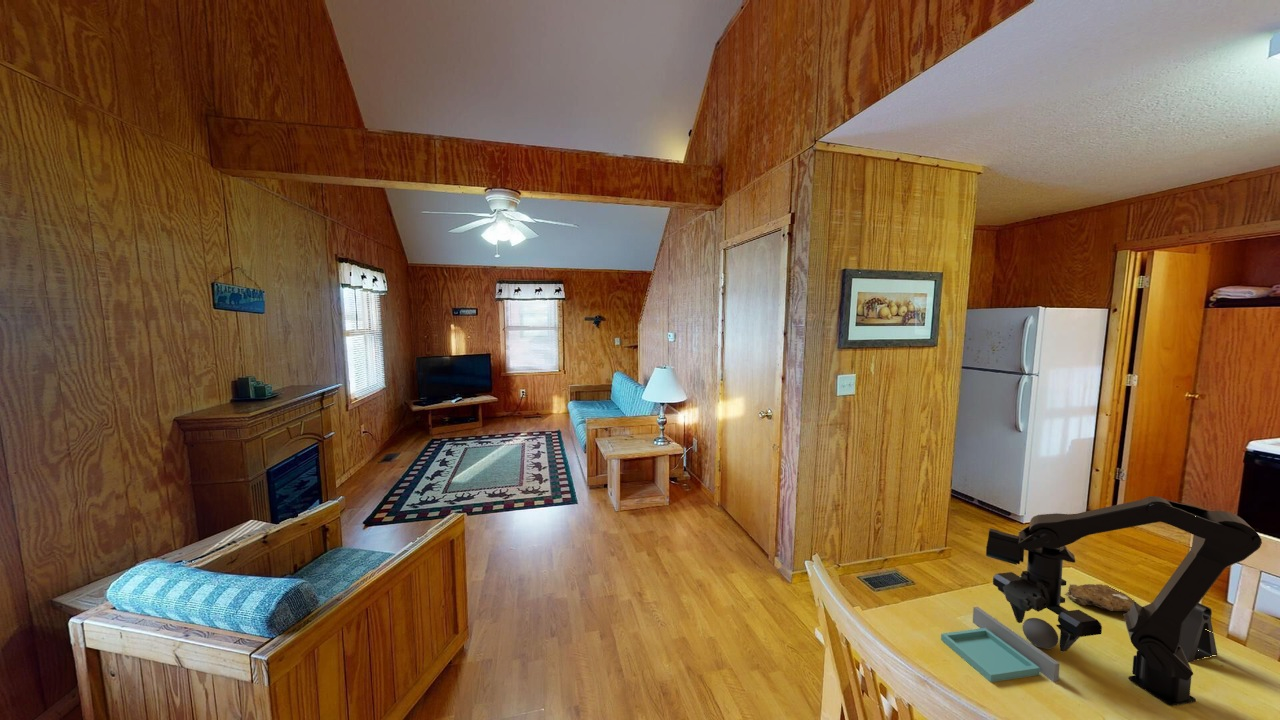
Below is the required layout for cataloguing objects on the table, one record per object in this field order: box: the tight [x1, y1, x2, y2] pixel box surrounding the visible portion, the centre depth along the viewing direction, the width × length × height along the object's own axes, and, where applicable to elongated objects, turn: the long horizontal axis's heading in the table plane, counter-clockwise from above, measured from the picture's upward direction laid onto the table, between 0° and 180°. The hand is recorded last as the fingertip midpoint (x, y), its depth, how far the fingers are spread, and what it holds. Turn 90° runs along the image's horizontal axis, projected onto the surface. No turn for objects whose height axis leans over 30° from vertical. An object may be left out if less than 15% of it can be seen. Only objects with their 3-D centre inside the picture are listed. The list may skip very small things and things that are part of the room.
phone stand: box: [1179, 602, 1218, 663], centre depth 94 cm, size 9×6×12 cm, turn 100°
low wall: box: [972, 606, 1061, 683], centre depth 95 cm, size 18×1×4 cm, turn 8°
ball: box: [1022, 617, 1059, 650], centre depth 96 cm, size 6×6×6 cm
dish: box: [940, 627, 1040, 683], centre depth 93 cm, size 12×12×2 cm
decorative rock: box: [1064, 583, 1139, 613], centre depth 110 cm, size 11×4×15 cm
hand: (1040, 636), depth 96 cm, fingers open, 9 cm apart
